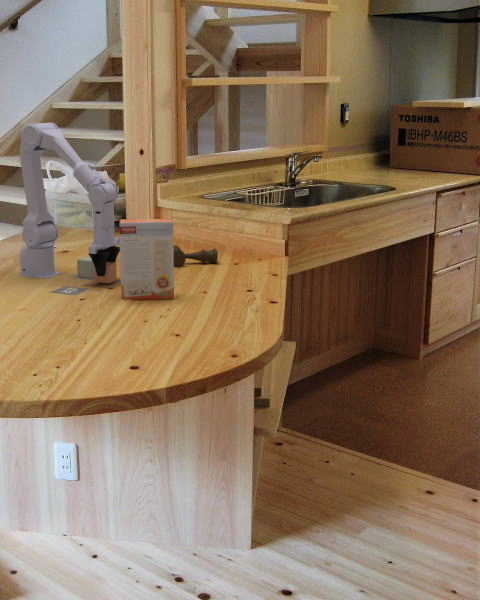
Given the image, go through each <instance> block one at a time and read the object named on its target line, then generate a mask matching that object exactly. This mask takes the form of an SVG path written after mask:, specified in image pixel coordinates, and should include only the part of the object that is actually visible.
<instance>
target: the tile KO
mask: <svg viewBox="0 0 480 600" xmlns="http://www.w3.org/2000/svg"><path fill="white" fill-rule="evenodd" d="M88 290H90V288H87V287H80V286H79V287H78V286H68V285H63V286H62V287H61V286H60V287H58V288H56V289H54V290H52V291H50V292H48V293H49V294H58V295H60V294H61V295H66V296H67V295H68V296H77V295H80V294H82V293H84V292H87V291H88Z"/></svg>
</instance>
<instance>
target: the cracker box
mask: <svg viewBox="0 0 480 600" xmlns="http://www.w3.org/2000/svg"><path fill="white" fill-rule="evenodd" d="M118 226H119V238H120V244H119V247H120V252H119V260H120V280H121V285H120V288H121V289H120V291H121V293H120V294H121V296H120V297H121V300H133V301H135V300H136V301H137V300H138V301H141V300H173V299H174V298H175V270H174V269H175V267H174V251H173V245H174V221H173V218H133V219H132V218H129V219H127V218H126V219H125V218H123V219H119V225H118Z"/></svg>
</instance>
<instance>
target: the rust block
mask: <svg viewBox="0 0 480 600" xmlns="http://www.w3.org/2000/svg"><path fill="white" fill-rule="evenodd" d="M94 272H95V282H101V283H111V282H113V281H115V280H118V279H117V278H118V276H117V262H115V263H114V262H106V272H105V276H97V273H96V269H95V266H94Z"/></svg>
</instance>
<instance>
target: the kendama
mask: <svg viewBox="0 0 480 600" xmlns="http://www.w3.org/2000/svg"><path fill="white" fill-rule="evenodd" d="M173 251H174V268H181V267H183V266H184V265H185V263H186V259H187V260H194V261H199V262H201V263H202V264H204V263H205V262H207V263H212V264H214V265H216V264H217V262H218V258H219V257H218V249H217V248H212V249H211V250H205V249H201V250H200V251H195V252H188V253H185V252H184V251H183V250H182V249H181V247H180V246H178V245H176V244H173Z"/></svg>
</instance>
